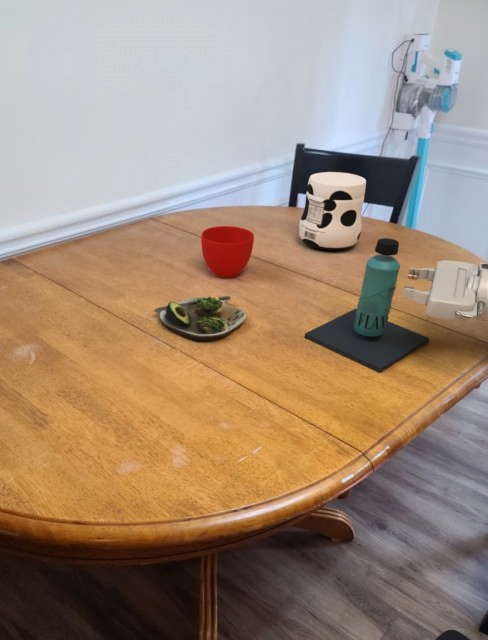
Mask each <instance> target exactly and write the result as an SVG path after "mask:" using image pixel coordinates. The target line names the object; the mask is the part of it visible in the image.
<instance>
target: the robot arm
mask: <svg viewBox="0 0 488 640" xmlns="http://www.w3.org/2000/svg"><path fill="white" fill-rule="evenodd" d="M407 279H409V280H413V281H417V280H426V281H428V282H431V285H430V290H429V291H428V290H423V291H422V290H419V289H415V287H414V286H409V285H405V286H404V287H403V289H402V292H401V297H402V299H407V300H411V301H413V302H415V303H417V304H418V305H422V306H426V307H425V311H424V314H425V316H426V317H429V318H432V319H435V320H442V321H449V322H450V321H451V322H462V323H464V322H468V321H470V320H478V321H484V322H488V262H480V263H479V264H476V263H474V262H467V261H459V260H450V259H449V260H448V259H446V260H445V259H444V260H439V261H437V263H436V266H435V268H433V267H423V268H416V267H410V269H409V271H408V274H407Z"/></svg>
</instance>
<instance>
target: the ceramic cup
mask: <svg viewBox="0 0 488 640" xmlns="http://www.w3.org/2000/svg"><path fill="white" fill-rule="evenodd" d="M200 239H201V241H200V242H201V252H202V257H203V259H204V263H205V264H206V266H207V268H208V270H210V272H211V273H212V274H213V273H214V274H215V275H217V276H220V277H219V278H221V277H232V278H235V277H234V276H236V275H237V276H239V274H240V273H241V272H242V271H243V270H244V269H245V268H246V267H247V265H248V263H249V261H250V259H251V256H252V253H253V247H254V242H255V234H254V233H253V232H252V231H251V230H249V229H246V228H244V227H239V226H232V225H220V226H213V227H208V228H207V229H204V230H203V231H202V232H201V237H200ZM214 274H213V275H214ZM215 275H214V276H215ZM217 276H216V277H217ZM237 276H236V277H237Z"/></svg>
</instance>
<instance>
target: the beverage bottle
mask: <svg viewBox="0 0 488 640" xmlns="http://www.w3.org/2000/svg"><path fill="white" fill-rule="evenodd" d="M399 245H400V241H398V240H396V239H394V238H389V237H387V238H386V237H384V238H379V239H377V242H376V245H375V248H374V252H375V253H377V254H376V255H374V256H372V257H370V258H368V259H367V261H366V263H365V269H364V275H363V280H362V285H361V290H360V294H359V298H358V302H357V307H356V309H357V312H356V314H355V315H356V316H355V317H354V318H355V320H354V330H355V331H356V332H357V333H359V334H361V335H364V336H371V337H375V336H380V335H382V334H383V332H384V331H385V329H386V328H385V327H386V323H387V321H389V318H390V312H391V309H392V303H393V302H394V301H393V297H394V296H395V291H396V288H397V282H398V281H399V280H398V276H399V272H400V270H401V264H400V262H399V261H398V260H397V258H395V257H394V256H396V255H398V253H399V247H400V246H399ZM392 301H393V302H392Z"/></svg>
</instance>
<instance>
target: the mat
mask: <svg viewBox="0 0 488 640" xmlns="http://www.w3.org/2000/svg"><path fill="white" fill-rule="evenodd" d="M356 312H357V308H354V309H352V310H350V311H347V312H346V313H344V314H342V315H339V316H337V317H335V318H333V319H331V320H329V321H327V322H325V323H323V324H321V325H319V326H317V327H315V328H313V329H311V330H309V331H307V332H305V333H304V338H305V339H306V340H309V341H310V342H313V343H315V344H317V345H319V346H321V347H324V348H326V349H328V350H330V351H333V352H335V353H336V354H339V355H341V356H342V357H345V358H347V359H349V360H351V361H353V362H355V363H358V364H360V365H362V366H365V367H366V368H368V369H370V370H373V371H375V372H377V373H378V374H380V373H382V372H383V371H385V370H387V369H389V368H391V366H394V365H395V364H396V363H398V362H400V361H401V360H403V359H405V358H406V357H408V356H409V355H411V354H412V353H414V352H416V351H417V350H419V349H420V348H422V347H424V346H425V345H427V344H428V343H430V341H431V337H428V336H426V335H423V334H421V333H419V332H416V331H414V330H412V329H411V330H410V329H408V328H406V327H403V326H401V325H398V324H396V323H393V322H391V321H389V320H388V321H387V323H386V327H385V328H386V329H385V331H384V332H383V334H382V335H380V336H375V337H371V336H364V335H361V334H359V333H357V332H356V331H355V330H354V320H355V318H354V317H355V316H356V315H355V314H356Z"/></svg>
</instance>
